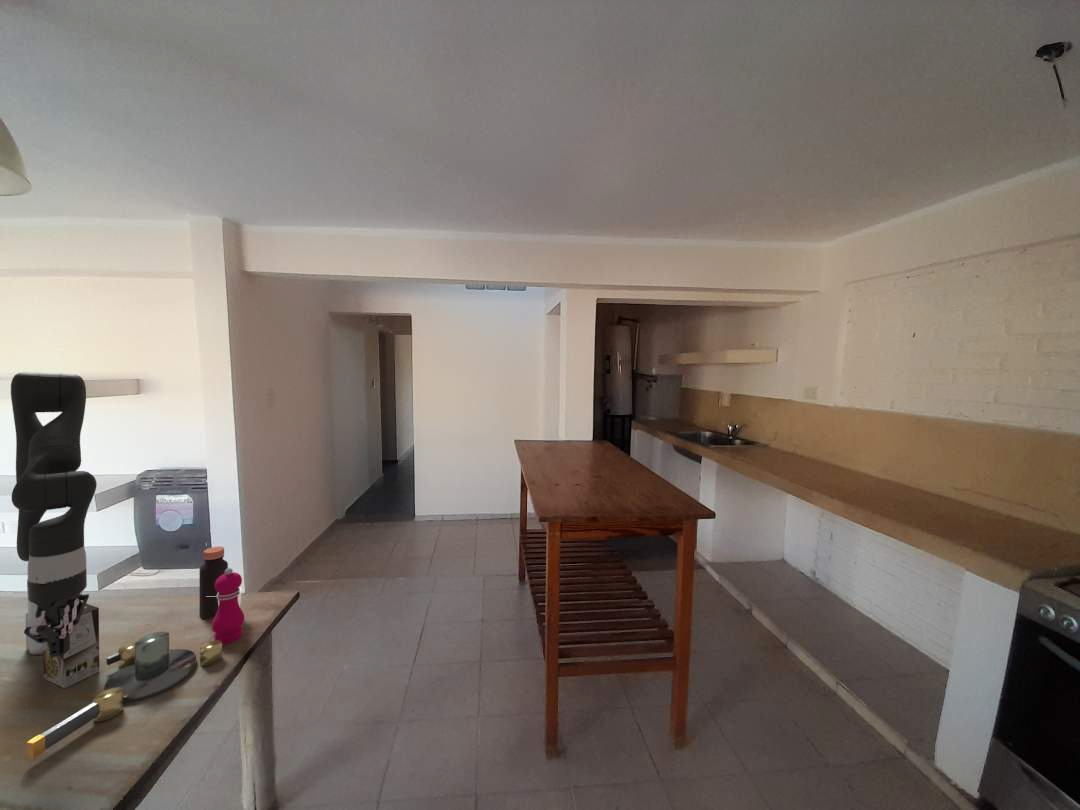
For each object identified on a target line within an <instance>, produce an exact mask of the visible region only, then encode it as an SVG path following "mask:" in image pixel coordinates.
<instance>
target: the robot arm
mask: <svg viewBox="0 0 1080 810" xmlns="http://www.w3.org/2000/svg"><path fill="white" fill-rule="evenodd" d="M86 388H87V387H86V383H85V381H84V379H83V378H82V376H80V375H78V374H73V373H64V372H63V373H62V372H61V373H57V372H35V371H34V372H32V371H29V372H27V371H25V372H18V373H16V374H14V376H13V377H12V379H11V384H10V399H11V400H10V401H11V405H12V406H11V407H12V413H13V415H12V416H13V420H14V421H13V422H14V426H15V427H14V429H15V441H16V442H15V443H16V446H15V447H16V449H15V451H16V452H15V481H16V483H15V485H14V487H13V489H12V492H11V502H12V504H13V506H14V507H15V508H16V509H17V510H18V517H17V532H16V533H17V534H16V551H17V556H18V557H19V560H21V561H23V562H27V580H26V587H27V588H26V589H27V590H26V591H27V594H26V595H27V613H25V629H24V630H23V631H24V632H23V633H24V635H25V642H26V643H25V644H26V645H25V646H26V648H25V649H26V650H28V652H29V654H31V655H43V642H49V649H50V650H49V651H50V652H49V654H50V656H51V657H57V656H63V655H64V654H65V653H66V652H68V651H69V650H70V633H71V632H72V630H73V626H74V625H77V624H78V623H79V620H80V618H81V615H82V613H83V610H84V608H85V605H86V604H88V603H87V602H88V601H89V597H90V595H89V593H85V594H83V591H84V590H85V589H86V588H87V585H88V584H87V583H88V581H87V578H88V577H87V552H86V548H85V522H86V517H87V514H88V510H89V508H90V505H91V503H92V500H93V498H94V496H95V493H96V489H97V480H96V478H95V476H94V475H93V474H91V472H89V471H85V470H79V468H80V467H81V465H82V453H81V452H82V451H81V432H82V428H83V423H84V419H85V412H86V405H87V404H86V402H87V389H86ZM37 413H60V414H59V415H57V416H56V417H55V418H53V419H52V420H50V421H48V423H46V424H45V425H43V424H42V423H41V421H40V419H39V417H38V416H37ZM64 508H69V509H68V510H67V511H66V512H65V513H63V514H62V515H59V516H56V517H52V518H50V519H46V520H42V518H43V516H44V515H45V513H46V512H47V511H52V510H58V509H59V510H60V509H64ZM41 520H42V521H41Z"/></svg>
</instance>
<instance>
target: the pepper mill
mask: <svg viewBox="0 0 1080 810" xmlns="http://www.w3.org/2000/svg"><path fill="white" fill-rule="evenodd" d="M242 583H243V577H242V575H241V574H240V573H238V572H235V571H233V568H230V567H228V569H226V570H225V574H223V575H221V576H220V577H219V578H218V579H217V580H216V582H215V589H216V591H218V593H217V599H218V600H219V608H218V611H217V613H216V615H215V617H214V618H213V621H212V623H211V630H212V632H213V633H214V635H213V638H215V640H220V641H222V645H226V644H227V645H228V644H230V643H233V642H235V641H237V640H239V639H240V638H241V637H242V635H243V627H242V626H243V624H244V622H245V615H244V612H243V609H242V608H241V605H240V606H239V604H238V595H239V594H240V592H239V590H240V588H239V587H241V585H242Z"/></svg>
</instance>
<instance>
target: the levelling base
mask: <svg viewBox="0 0 1080 810" xmlns="http://www.w3.org/2000/svg"><path fill="white" fill-rule="evenodd" d="M117 651H118V652H116V653H114V654H112V655H110V656H107V657H106V665H107V666H110V665H112V664H114V663H116V662H118V663H117V665H118V668H119V670H117V671H116V672H114V673H113V674H112V675H111V676H110V677H109V678H108V680H106V682H105V684H104V687H103V692H104V691H106V690H108V689H112V688H117V687H120V688H122V689H123V704H128V703H135V702H139V701H143V700H147V699H150V698H152V697H153V698H154V697H156V696H158V695H160V694H163V693H164V692H167V691H169V690H171V689H173V688H174V687H176V686H178V685H179V684H181V683H182V682H184V680H186V679H187V678H188V677H189V676H190V675H192V673H193V672H194V670H195V669H196V665H197V655H196V653H195V652H194V651H192V650H189V649H185V648H177V649H176V648H175V649H170V633H169V632H168V631H158V632H157V631H156V632H153V633H149V634H146V635H144V636H142V637H141V638H139V639H137V640H136V641H135V640H134V641H132V642H129V643H126V644H123V645H122V646H121V647H119V648H118V650H117ZM222 659H223V644H222V641H220V640H215V638H214V637H211V638H210V639H209V641H208V642H206V643H204V644H202V645H201V646H200V649H199V665H200V666H201V667H203V668H204V667H206V668H207V667H212V666H213V665H216V664H217V663H219V662H221V660H222Z"/></svg>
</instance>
